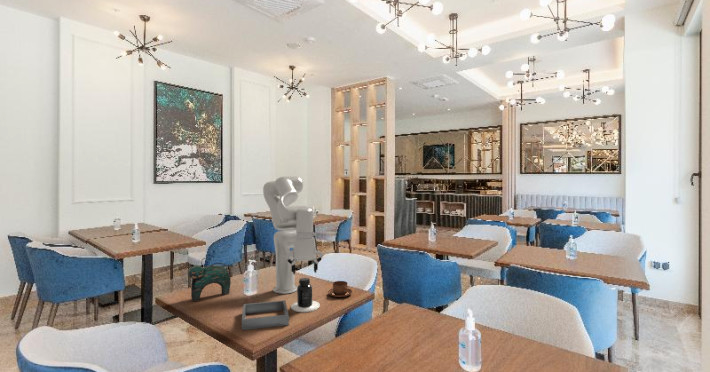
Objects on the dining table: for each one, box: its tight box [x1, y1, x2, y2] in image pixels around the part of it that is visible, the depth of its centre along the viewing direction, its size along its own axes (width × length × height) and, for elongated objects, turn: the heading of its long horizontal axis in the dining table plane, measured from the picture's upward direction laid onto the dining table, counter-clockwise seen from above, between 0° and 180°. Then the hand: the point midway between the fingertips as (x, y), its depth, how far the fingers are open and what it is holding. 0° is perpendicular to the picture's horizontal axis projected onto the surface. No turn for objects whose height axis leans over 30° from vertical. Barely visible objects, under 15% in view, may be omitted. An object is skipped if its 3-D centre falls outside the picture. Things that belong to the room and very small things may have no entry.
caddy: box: [241, 299, 290, 331], centre depth 151 cm, size 18×18×4 cm
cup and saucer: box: [328, 280, 353, 298], centre depth 181 cm, size 12×12×6 cm
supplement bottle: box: [296, 277, 313, 308], centre depth 164 cm, size 7×7×12 cm
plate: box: [290, 300, 321, 314], centre depth 164 cm, size 13×13×1 cm
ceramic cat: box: [187, 257, 231, 302], centre depth 179 cm, size 20×6×20 cm, turn 129°
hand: (304, 272), depth 164 cm, fingers open, 9 cm apart
